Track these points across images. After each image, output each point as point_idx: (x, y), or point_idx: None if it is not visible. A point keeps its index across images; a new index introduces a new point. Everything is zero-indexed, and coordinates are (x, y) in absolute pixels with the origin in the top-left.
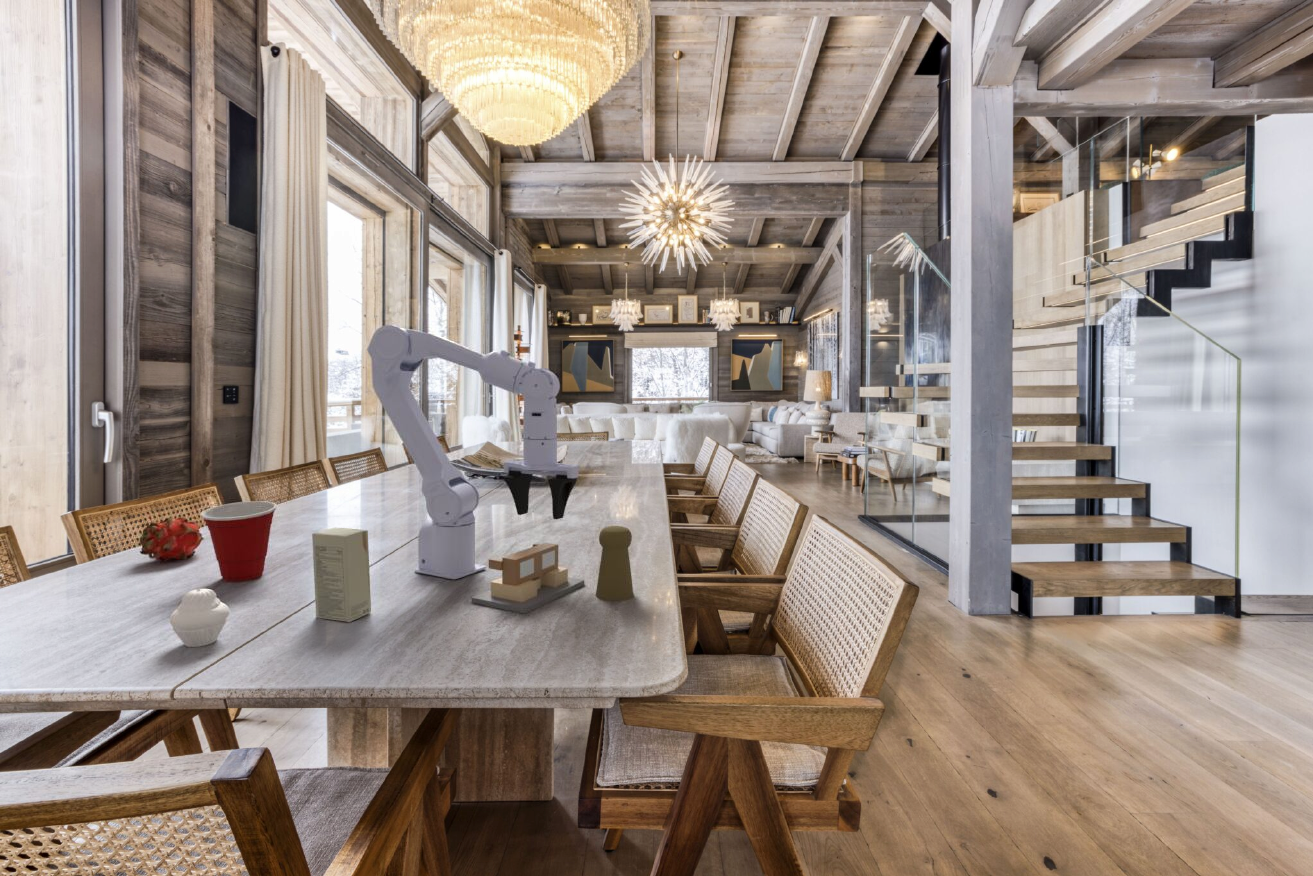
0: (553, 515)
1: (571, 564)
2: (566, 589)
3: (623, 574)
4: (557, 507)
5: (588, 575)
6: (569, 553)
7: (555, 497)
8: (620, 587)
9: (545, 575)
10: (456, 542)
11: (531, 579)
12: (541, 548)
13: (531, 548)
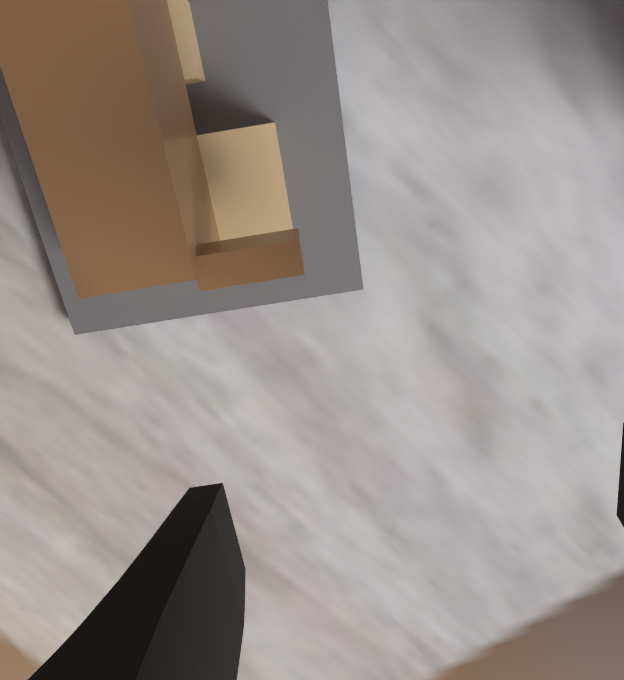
0: (205, 499)
1: (359, 500)
2: (22, 175)
3: None
4: (129, 576)
5: (181, 434)
6: (479, 598)
7: (70, 671)
8: None
9: None
10: None
11: None
12: (63, 119)
13: (117, 57)
